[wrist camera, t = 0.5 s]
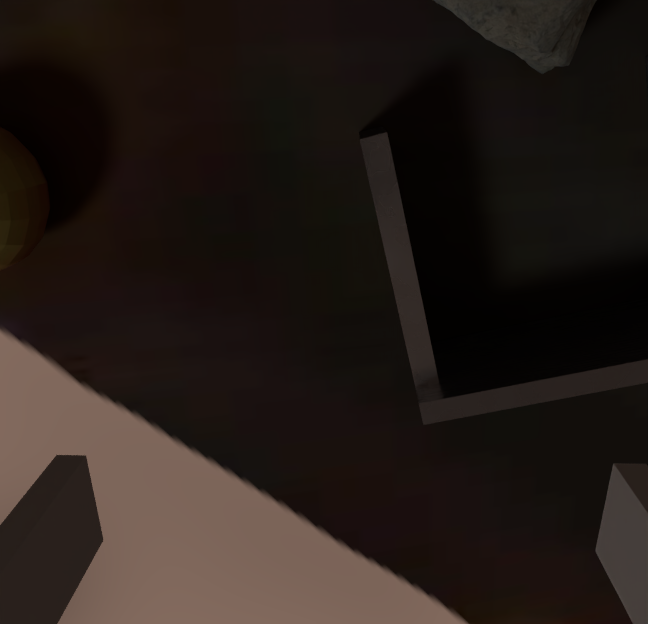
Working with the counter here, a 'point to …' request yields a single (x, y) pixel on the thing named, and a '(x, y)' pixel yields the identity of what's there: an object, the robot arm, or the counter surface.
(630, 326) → the gray open-sided box
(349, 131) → the counter surface
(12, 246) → the apple
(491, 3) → the decorative stone
